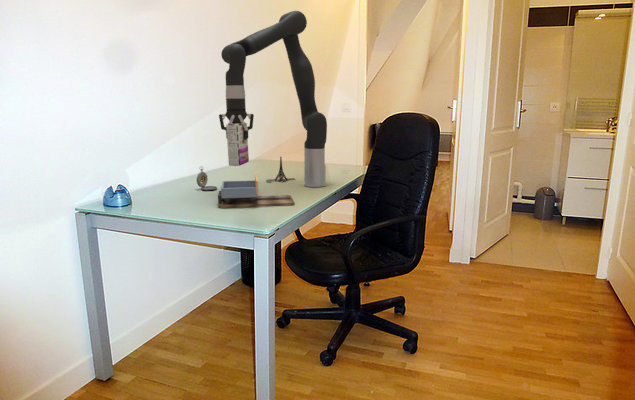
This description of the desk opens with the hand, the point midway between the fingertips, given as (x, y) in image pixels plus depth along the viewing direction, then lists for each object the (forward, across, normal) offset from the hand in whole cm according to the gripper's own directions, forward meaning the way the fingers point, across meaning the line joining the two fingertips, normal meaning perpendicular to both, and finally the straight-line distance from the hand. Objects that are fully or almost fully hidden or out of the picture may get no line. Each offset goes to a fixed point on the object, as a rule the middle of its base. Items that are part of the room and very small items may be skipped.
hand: (237, 139), depth 182 cm
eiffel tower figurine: (+24, -20, -30) cm, 43 cm away
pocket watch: (+23, +14, -13) cm, 30 cm away
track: (+23, -6, +16) cm, 28 cm away
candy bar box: (+10, 0, 0) cm, 10 cm away
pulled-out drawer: (+21, 0, +16) cm, 27 cm away
